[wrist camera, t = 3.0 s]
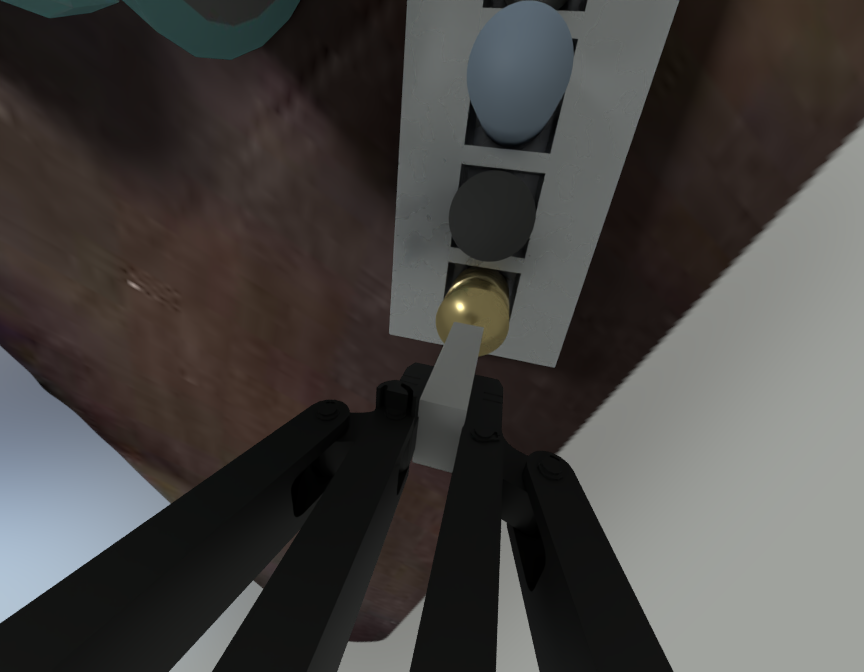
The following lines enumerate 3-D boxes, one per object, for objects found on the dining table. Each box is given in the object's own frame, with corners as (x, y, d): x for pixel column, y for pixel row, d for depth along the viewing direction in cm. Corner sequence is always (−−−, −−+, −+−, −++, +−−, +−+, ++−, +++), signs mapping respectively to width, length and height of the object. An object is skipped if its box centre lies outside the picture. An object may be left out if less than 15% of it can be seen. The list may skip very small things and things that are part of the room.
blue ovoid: (472, 143, 20) (459, 126, 15) (485, 54, 18) (475, -2, 13) (543, 150, 19) (556, 136, 14) (564, 59, 17) (588, 2, 12)
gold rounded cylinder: (448, 315, 25) (431, 348, 20) (455, 261, 23) (440, 282, 18) (502, 325, 25) (500, 363, 19) (515, 271, 23) (517, 296, 17)
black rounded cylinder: (459, 239, 23) (443, 255, 17) (468, 171, 21) (454, 165, 15) (520, 248, 22) (523, 267, 17) (536, 179, 20) (546, 175, 15)
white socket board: (405, 314, 29) (389, 334, 25) (438, -112, 18) (417, -200, 14) (548, 341, 27) (554, 367, 23) (691, -117, 16) (753, -220, 12)
